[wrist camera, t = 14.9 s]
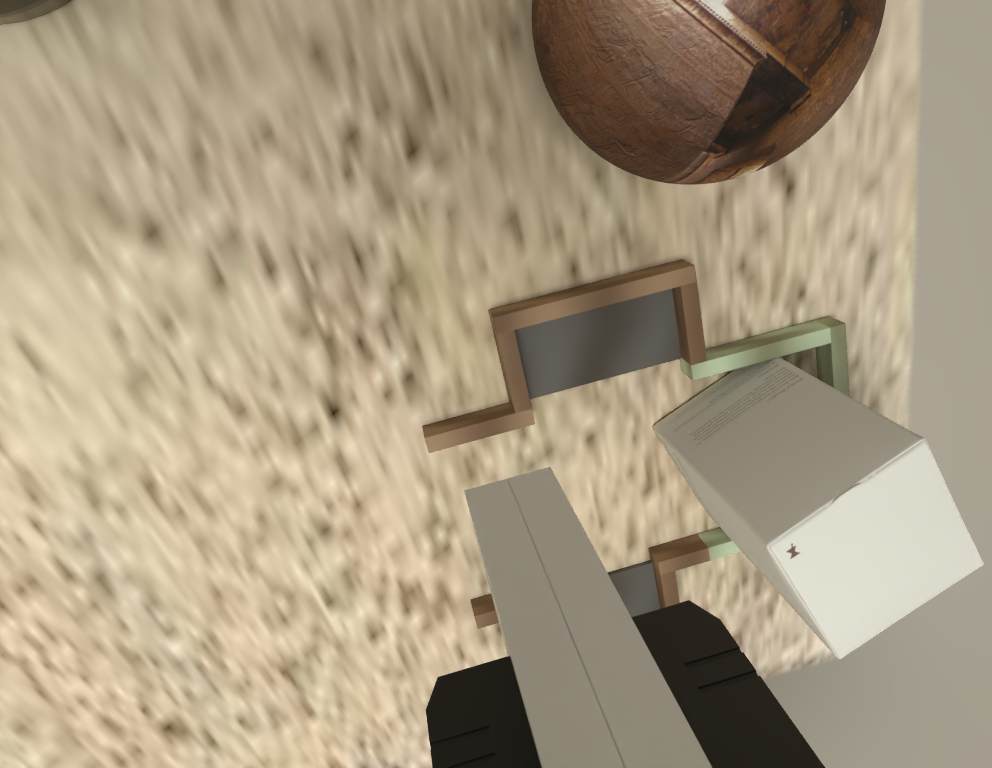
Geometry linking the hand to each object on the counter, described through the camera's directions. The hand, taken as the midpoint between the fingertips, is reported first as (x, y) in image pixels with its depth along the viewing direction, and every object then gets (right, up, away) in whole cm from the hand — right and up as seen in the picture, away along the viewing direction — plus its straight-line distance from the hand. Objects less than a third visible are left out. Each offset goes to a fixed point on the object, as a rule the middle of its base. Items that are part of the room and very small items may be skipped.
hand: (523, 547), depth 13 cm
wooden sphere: (+7, +22, +29) cm, 37 cm away
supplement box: (+15, -1, +38) cm, 41 cm away
